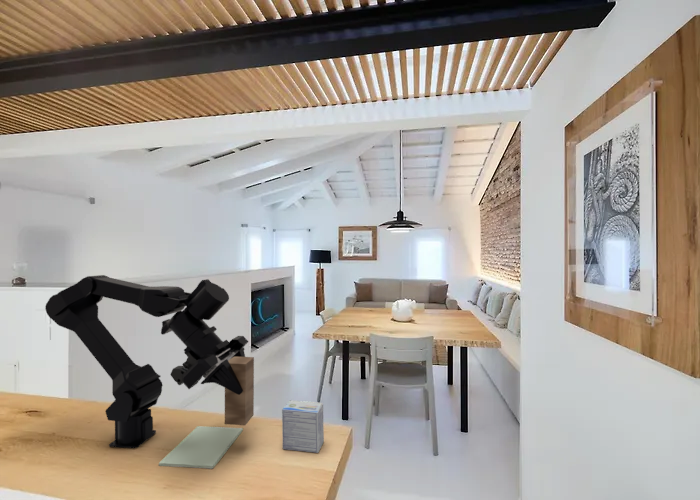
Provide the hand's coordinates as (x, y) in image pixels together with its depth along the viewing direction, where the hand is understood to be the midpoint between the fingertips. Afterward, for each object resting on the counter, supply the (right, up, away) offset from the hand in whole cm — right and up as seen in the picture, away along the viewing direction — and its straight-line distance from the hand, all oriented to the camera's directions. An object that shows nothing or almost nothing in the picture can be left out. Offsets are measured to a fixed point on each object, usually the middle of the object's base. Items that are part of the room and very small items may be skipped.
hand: (245, 388), depth 72 cm
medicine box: (+12, -13, +1) cm, 18 cm away
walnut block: (-1, -7, 0) cm, 7 cm away
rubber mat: (-9, -13, +1) cm, 16 cm away
